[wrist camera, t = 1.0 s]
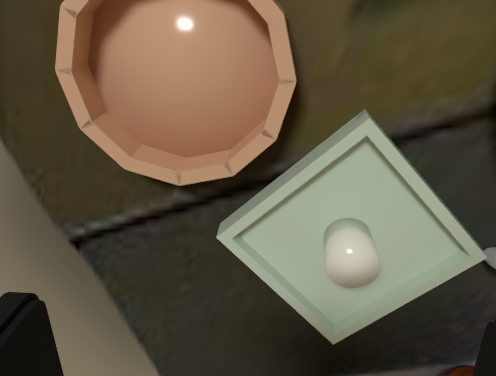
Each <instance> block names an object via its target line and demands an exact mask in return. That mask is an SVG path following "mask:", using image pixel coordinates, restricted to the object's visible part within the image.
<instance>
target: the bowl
mask: <svg viewBox="0 0 496 376" xmlns="http://www.w3.org/2000/svg"><path fill="white" fill-rule="evenodd" d="M55 70H56V74H57V76H58V79H59V81H60V83H61V86H62V88H63V90H64V93H65V95H66V97H67V100H68V102H69V104H70V107H71V109H72V112H73V114H74V116H75V119H76V121H77V123H78V126H79V128H81V130H82V131H83V132H84V133H85V134H86V135H87V136H88V137H89V138H91V139H92V140H93V141H94V142H95V143H96V144H97V145H98V146H99V147H101V148H102V149H103V150H104V151H105V152H106V153H107V154H108V155H109V156H111V157H112V158H113V159H114V160H115V161H116V162H117V163H118V164H119V165H121V166H122V167H123V168H124V169H125V170H129V171H132V172H135V173H139V174H142V175H145V176H148V177H152V178H155V179H158V180H161V181H165V182H168V183H171V184H175V185H178V186H181V185H187V184H192V183H198V182H204V181H209V180H215V179H220V178H226V177H231V176H234V175H235V174H236V173H238V172H239V171H240V170H241V169H242V168H244V167H245V166H246V165H247V164H248V163H250V162H251V161H252V160H253V159H254V158H256V157H257V156H258V155H259V154H260V153H261V152H263V151H264V150H265V149H266V148H267V147H269V146H270V145H271V144H272V143H273V142H275V141H276V140H277V137H278V134H279V131H280V128H281V125H282V122H283V120H284V117H285V114H286V111H287V108H288V105H289V102H290V100H291V97H292V94H293V91H294V88H295V85H296V82H297V80H296V69H295V64H294V58H293V53H292V48H291V40H290V36H289V31H288V26H287V21H286V15H285V11H284V9H283V8H282V7H281V6H280V4H279V3H278V2H277V1H276V0H64V1H63V3H62V4H61V6H60V15H59V28H58V40H57V53H56V65H55Z"/></svg>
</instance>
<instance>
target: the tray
mask: <svg viewBox="0 0 496 376" xmlns="http://www.w3.org/2000/svg"><path fill="white" fill-rule="evenodd" d="M342 218H355V219H358V220H360V221H362V222H364V223H365V224H366V225H367V226H368V228H369V229H370V232H371V235H372V238H373V241H374V245H375V248H376V251H377V255H378V258H379V261H380V270H379V273H378V275H377V276H376V278H375V279H374V280H373V281H372V282H370V283H369V284H367V285H365V286H362V287H357V288H347V287H343V286H340V285H338V284H336V283H335V282H333V281H332V280H331V279H330V277H329V276H328V273H327V269H326V260H325V252H324V243H323V235H324V232H325V230H326V228H327V227H328V226H329V225H330V224H331V223H332V222H334V221H336V220H338V219H342ZM216 238H217V239H218V240H220V241H221V242H222V243H223V244H224V245H225V246H226V247H227V248H228V249H229V250H230V251H232V252H233V253H234V254H235V255H236V256H237V257H238V258H239V259H240V260H241V261H242V262H244V263H245V264H246V265H247V266H248V267H249V268H250V269H251V270H252V271H253V272H255V273H256V274H257V275H258V276H259V277H260V278H261V279H262V280H263V281H264V282H265V283H267V284H268V285H269V286H270V287H271V288H272V289H273V290H274V291H275V292H276V293H277V294H279V295H280V296H281V297H282V298H283V299H284V300H285V301H286V302H287V303H288V304H290V305H291V306H292V307H293V308H294V309H295V310H296V311H297V312H298V313H299V314H300V315H302V316H303V317H304V318H305V319H306V320H307V321H308V322H309V323H310V324H311V325H312V326H314V327H315V328H316V329H317V330H318V331H319V332H320V333H321V334H322V335H323V336H324V337H326V338H327V339H328V340H329V341H330V342H331V343H332V344H335V343H337V342H339V341H341V340H342V339H344V338H346V337H348V336H349V335H351V334H353V333H355V332H356V331H358V330H360V329H362V328H364V327H365V326H367V325H369V324H371V323H372V322H374V321H376V320H378V319H380V318H381V317H383V316H385V315H387V314H388V313H390V312H392V311H394V310H396V309H397V308H399V307H401V306H403V305H404V304H406V303H408V302H410V301H411V300H413V299H415V298H417V297H419V296H420V295H422V294H424V293H426V292H427V291H429V290H431V289H433V288H435V287H436V286H438V285H440V284H442V283H443V282H445V281H447V280H449V279H451V278H452V277H454V276H456V275H458V274H459V273H461V272H463V271H465V270H467V269H468V268H470V267H472V266H474V265H475V264H477V263H479V262H481V261H482V260H484V259H486V258H487V256H486V255H485V253H484V252H483V250H482V249H481V247H480V246H479V244H478V243H477V242H476V240H475V239H474V238H473V237H472V236H471V234H470V233H469V232H468V231H467V230H466V229H465V227H464V226H463V225H462V224H461V223H460V221H459V220H458V219H457V218H456V217H455V215H454V214H453V213H452V212H451V211H450V209H449V208H448V207H447V206H446V205H445V204H444V202H443V201H442V200H441V199H440V198H439V196H438V195H437V194H436V193H435V192H434V190H433V189H432V188H431V187H430V186H429V185H428V183H427V182H426V181H425V180H424V179H423V177H422V176H421V175H420V174H419V173H418V171H417V170H416V169H415V168H414V167H413V166H412V164H411V163H410V162H409V161H408V160H407V158H406V157H405V156H404V155H403V154H402V152H401V151H400V150H399V149H398V148H397V146H396V145H395V144H394V143H393V142H392V141H391V139H390V138H389V137H388V136H387V135H386V133H385V132H384V131H383V130H382V129H381V127H380V126H379V125H378V124H377V123H376V122H375V120H374V119H373V118H372V117H371V116H370V114H369V113H368V112H367V111H366V110H365V109H364V110H363V111H361V112H360V113H359V114H358V115H356V116H355V117H354V118H353V119H351V120H350V121H349V122H348V123H346V124H345V125H344V126H343V127H341V128H340V129H339V130H338V131H336V132H335V133H334V134H332V135H331V136H330V137H329V138H327V139H326V140H325V141H324V142H322V143H321V144H320V145H319V146H317V147H316V148H315V149H314V150H312V151H311V152H310V153H308V154H307V155H306V156H305V157H303V158H302V159H301V160H300V161H298V162H297V163H296V164H295V165H293V166H292V167H291V168H290V169H288V170H287V171H286V172H285V173H283V174H282V175H281V176H279V177H278V178H277V179H276V180H274V181H273V182H272V183H271V184H269V185H268V186H267V187H266V188H264V189H263V190H262V191H261V192H259V193H258V194H257V195H256V196H254V197H253V198H252V199H250V200H249V201H248V202H247V203H245V204H244V205H243V206H242V207H240V208H239V209H238V210H237V211H235V212H234V213H233V214H232V215H230V216H229V217H228V218H227V219H225V220H224V221H223V222H221V223H220V227H219V230H218V233H217V237H216Z"/></svg>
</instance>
